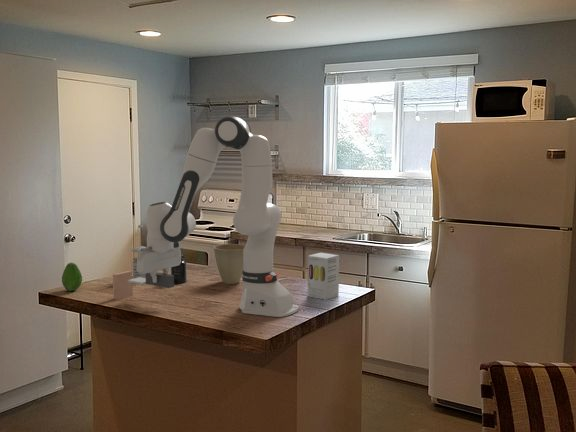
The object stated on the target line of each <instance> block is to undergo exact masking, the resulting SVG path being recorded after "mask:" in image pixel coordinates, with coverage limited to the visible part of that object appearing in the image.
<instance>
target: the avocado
mask: <svg viewBox="0 0 576 432" xmlns="http://www.w3.org/2000/svg"><path fill="white" fill-rule="evenodd" d="M82 283H83V275H82V273H81V270H80V268H79V267H78V265H77V264H76V263H74V262H69V263H67V264H66V265H65V267H64V270H63V273H62V276H61V284H62V286H63V287H64V288H65V290H66V291H69V292H72V291H73V292H74V291H76V290H78V289H79V288H80V287H81V286H82Z"/></svg>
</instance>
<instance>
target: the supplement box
mask: <svg viewBox="0 0 576 432" xmlns="http://www.w3.org/2000/svg"><path fill="white" fill-rule="evenodd" d="M307 256H308V258H307V260H308V261H307V262H308V263H307V297H310V298H314V299H319V300H324V301H327V300H330V299H333V298H335V297H338V296H339V292H340V291H339V290H340V289H339V288H340V285H339V284H340V283H339V282H340V281H339V280H340V255H339V254H333V253H327V252H317V253H313V254H309V255H307Z"/></svg>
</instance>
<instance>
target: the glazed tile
mask: <svg viewBox="0 0 576 432" xmlns="http://www.w3.org/2000/svg"><path fill="white" fill-rule="evenodd" d="M132 278H133V270H126V271H121V272H117V273H113V274H112V296H113V297H112V298H113V300H116V301H118V300H123V299H127V298H129V297H132V296H133V295H134V293H133V291H134V290H133V283H130V282H128V280H130V279H132Z"/></svg>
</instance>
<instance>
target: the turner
mask: <svg viewBox="0 0 576 432" xmlns="http://www.w3.org/2000/svg"><path fill="white" fill-rule="evenodd" d="M156 276H157V277H159V282H156V283H154V282H153V278H152V276H151V275H150V273H146V278H141V277H138V278H134V279H130V280H128V282H130V283H132V284H136V285H148V286H149V285H150V286H155V287H161V288H166V289H171V288H174V287H175V283H174V275H171V273H170V274H169V273H168V274H164V273H163V272H158V271H157V274H156Z"/></svg>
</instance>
